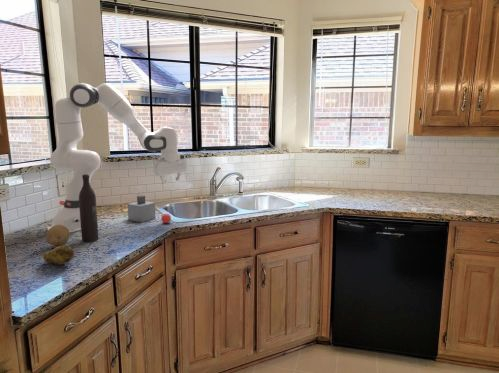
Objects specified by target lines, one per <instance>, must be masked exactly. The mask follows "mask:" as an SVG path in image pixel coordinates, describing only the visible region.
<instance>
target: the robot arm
mask: <svg viewBox="0 0 499 373" xmlns="http://www.w3.org/2000/svg"><path fill="white" fill-rule="evenodd" d="M96 104H97V105H100V106H101V107H102V108H103V109H104V110H105V111H106V112H107V113H108V114H109V115H110V116H111V117H112V118H114V119H116V120H117V121H118V122H120V123H122V124H124V125H125V126H127V127H128V129H130V131H132V133H133V134H135V136H136V137H137V138H138V142H139V143H140V146H141V147H142V148H143V149H144V150H146V151H148V152H151V153H156V152H160V153H161V154H160V156H161V157H160V158H155V160H154V162H153V175H154V176H155V177H159V178H160V179H161V184H167V180H166V179H165V176H168V175H174V174H176V176H175V181H177V182H178V181H181V180H180V178H181V175H182V173H184V172H186V171H187V160H186V155H185V154H182V153H179V150H178V134H177V130H176V129H175V128H174V127H170V126H165V125H164V126H163V125H162V126H161V127H160V128H159V129H157V130H155V131H151V130H148V129H147V128H146V127H145V125H143V124H142V123H141V121H140V120H139V119H138V118H137V117H136V114H135V113H134V109H133V108H134V107H132V105H131V102H129V101H128V99H127V97H125V96H124V95H123V94H122V93H121V92H120V91H119V90H118V89H116V87H114V86H113V85H112V84H110V83H108V82H105V83H104V82H103V83H101V84H99V85H98V86H96V87H95V86H94V87H93V86H92V85H91V84H90V83H87V82H77V83H76V84H74V85H73V86H72V87H71V89H70V91H69V96H68V97H63V98H59V99H58V100H57V101H56V102H55V105H54V109H55V110H54V114H55V122H56V128H57V134H58V141H57V145H56V149H55V150H54V151H53V152H52V153H51V155H50V160H49V161H50V165H51V166H52V167H53V168H54V169H55V170H56V169H57V170H59V171H63V172H72V173H73V174H72V178H71V179H69V180H68V181H66V184H65V187H64V188H65V196H66V198H65V201H63V200H60V201H59V202H58V204H59V205H60V206H63V208H61V209H60V210H59V211H58V212H57V213H56V214H55V215H54V216H53V218H52V221H51V226H48V227H47V229H46V230H47V231H48V230H49V229H50V228H51V227H53V226H55V225H63V226H65V227H66V228H67V229H68V230H69V233H74V232H81V223H80V209H79V193H80V191H81V189H82V186H83V178H82V176H83V175H84V174H89V183H90V184H91V179H92V177H93V175H94V173H95V172H96V171H97V170H99V169H100V167H101V163H102V160H101V157H100V154H99V153H98V152H96V151H92V150H90V149H78V148H77V147H78V142H80V141H81V140H83V138H84V129H83V125H82V124H83V123H82V117H81V110H82V108H89V107H91V106H93V105H96ZM47 231H46V232H47Z"/></svg>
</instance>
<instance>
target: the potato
mask: <svg viewBox="0 0 499 373" xmlns="http://www.w3.org/2000/svg"><path fill="white" fill-rule="evenodd" d="M74 256H75V251H74V249H73V247H71V246H69V245H64V246H59V247H56V246H55V248H53V249H52V250H47V251H46V252H45V253H44V254H43V256H42V258H43V260H44V261H45V262H46V263H48V264H55V265H64V264H67V263H70V262H71V261H72V260H73V258H74Z"/></svg>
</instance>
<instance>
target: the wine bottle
mask: <svg viewBox="0 0 499 373" xmlns="http://www.w3.org/2000/svg"><path fill="white" fill-rule="evenodd" d="M82 178H83V186H82V189H81V191H80V193H79V209H80V223H81V230H80V234H81V241H82V242H84V243H85V242H86V243H89V242H90V243H91V242H95V241H97V240H98V239H99V226H98V210H97V198H96V193H95V191H94V190H93V188H92V186H91V185H90V184H91V182H90V183H89V174H84V175H83V176H82Z"/></svg>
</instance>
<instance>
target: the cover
mask: <svg viewBox="0 0 499 373" xmlns="http://www.w3.org/2000/svg"><path fill="white" fill-rule="evenodd" d="M127 216H128V217H127V220H128V221H134V222H138V223H145V222H147V221H150V220H154V219H156V202H153V201H146V196H145V195H136V201H135V202H129V203H127Z"/></svg>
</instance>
